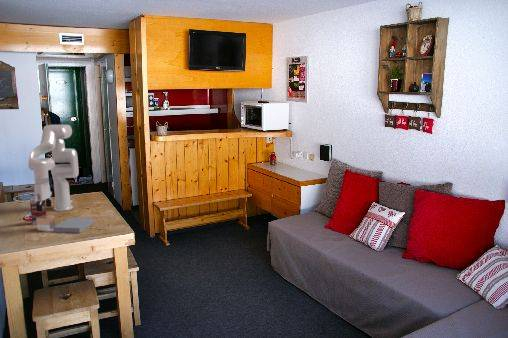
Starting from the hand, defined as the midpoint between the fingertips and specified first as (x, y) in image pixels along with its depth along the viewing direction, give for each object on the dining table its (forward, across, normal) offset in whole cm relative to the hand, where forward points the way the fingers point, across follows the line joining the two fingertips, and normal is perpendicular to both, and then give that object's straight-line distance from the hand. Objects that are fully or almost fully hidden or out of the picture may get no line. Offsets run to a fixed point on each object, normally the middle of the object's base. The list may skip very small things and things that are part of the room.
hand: (44, 208), depth 262 cm
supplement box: (+13, -12, -11) cm, 21 cm away
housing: (+13, -1, 0) cm, 13 cm away
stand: (+13, -6, +15) cm, 21 cm away
